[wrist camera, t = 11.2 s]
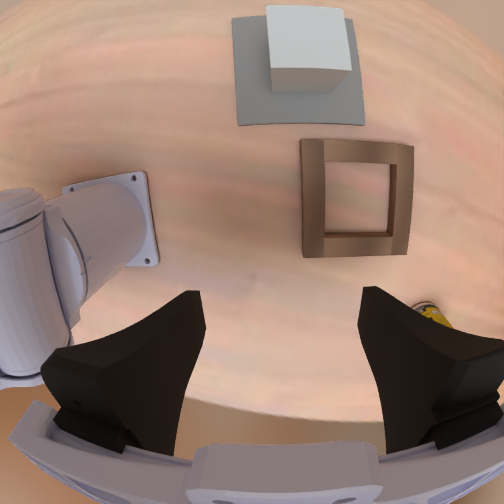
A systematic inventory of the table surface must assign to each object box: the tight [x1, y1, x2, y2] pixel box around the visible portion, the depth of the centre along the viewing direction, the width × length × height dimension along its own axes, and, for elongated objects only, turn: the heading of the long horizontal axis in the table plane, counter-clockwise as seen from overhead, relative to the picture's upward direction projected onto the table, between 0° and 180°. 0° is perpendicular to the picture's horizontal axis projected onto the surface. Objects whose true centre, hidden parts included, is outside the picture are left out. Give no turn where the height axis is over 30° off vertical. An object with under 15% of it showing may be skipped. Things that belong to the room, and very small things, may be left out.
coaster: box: [232, 16, 365, 126], centre depth 16 cm, size 9×9×1 cm
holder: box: [300, 140, 414, 258], centre depth 19 cm, size 8×8×1 cm
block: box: [266, 5, 352, 93], centre depth 13 cm, size 4×4×6 cm
